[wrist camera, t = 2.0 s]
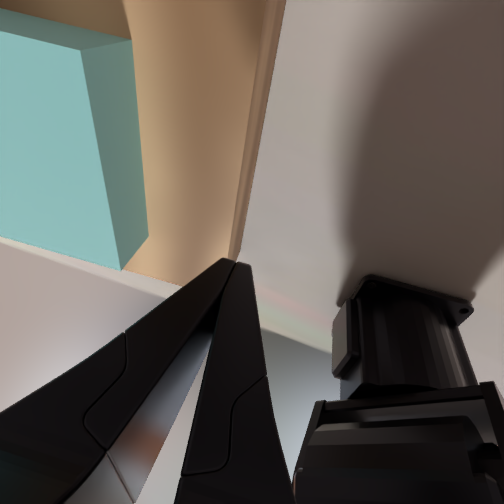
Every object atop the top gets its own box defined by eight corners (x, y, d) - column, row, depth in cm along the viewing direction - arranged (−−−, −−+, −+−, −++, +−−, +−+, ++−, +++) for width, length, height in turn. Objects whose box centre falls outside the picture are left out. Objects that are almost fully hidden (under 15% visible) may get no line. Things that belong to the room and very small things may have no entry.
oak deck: (296, -53, 10) (277, -74, 7) (239, 251, 19) (221, 297, 16) (-128, -144, 11) (-301, -196, 8) (12, 188, 20) (-44, 221, 17)
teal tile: (131, 39, 9) (80, 50, 8) (148, 236, 15) (121, 271, 13) (-43, -3, 10) (-134, -2, 8) (35, 204, 15) (-8, 233, 13)
